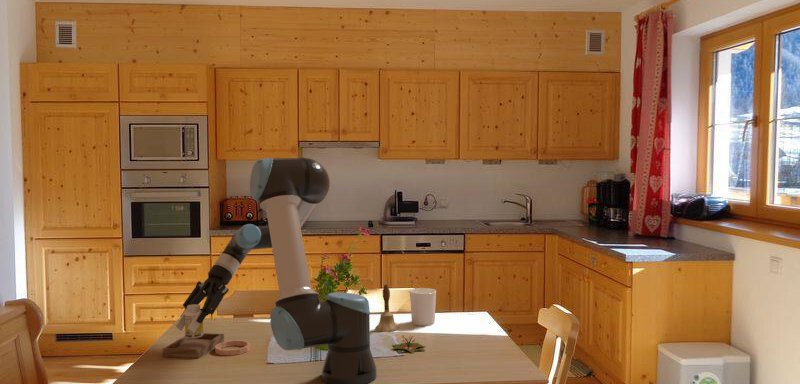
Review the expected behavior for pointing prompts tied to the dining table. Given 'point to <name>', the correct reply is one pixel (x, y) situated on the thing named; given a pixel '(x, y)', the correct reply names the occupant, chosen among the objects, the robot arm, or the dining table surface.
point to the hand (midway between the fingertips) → (184, 329)
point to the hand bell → (386, 314)
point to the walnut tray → (193, 346)
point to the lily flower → (409, 345)
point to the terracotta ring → (232, 351)
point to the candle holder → (423, 306)
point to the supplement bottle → (189, 317)
